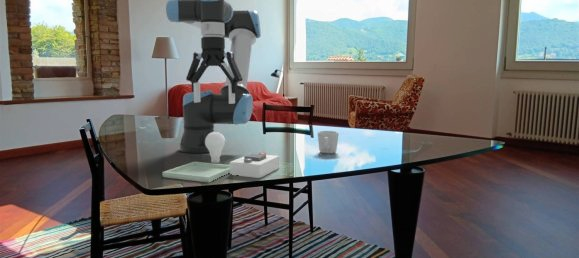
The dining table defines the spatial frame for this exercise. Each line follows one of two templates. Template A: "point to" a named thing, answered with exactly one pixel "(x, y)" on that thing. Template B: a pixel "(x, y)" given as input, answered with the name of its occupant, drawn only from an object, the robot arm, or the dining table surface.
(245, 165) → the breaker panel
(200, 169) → the tray
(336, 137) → the cup
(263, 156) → the button
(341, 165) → the dining table surface
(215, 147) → the light bulb
